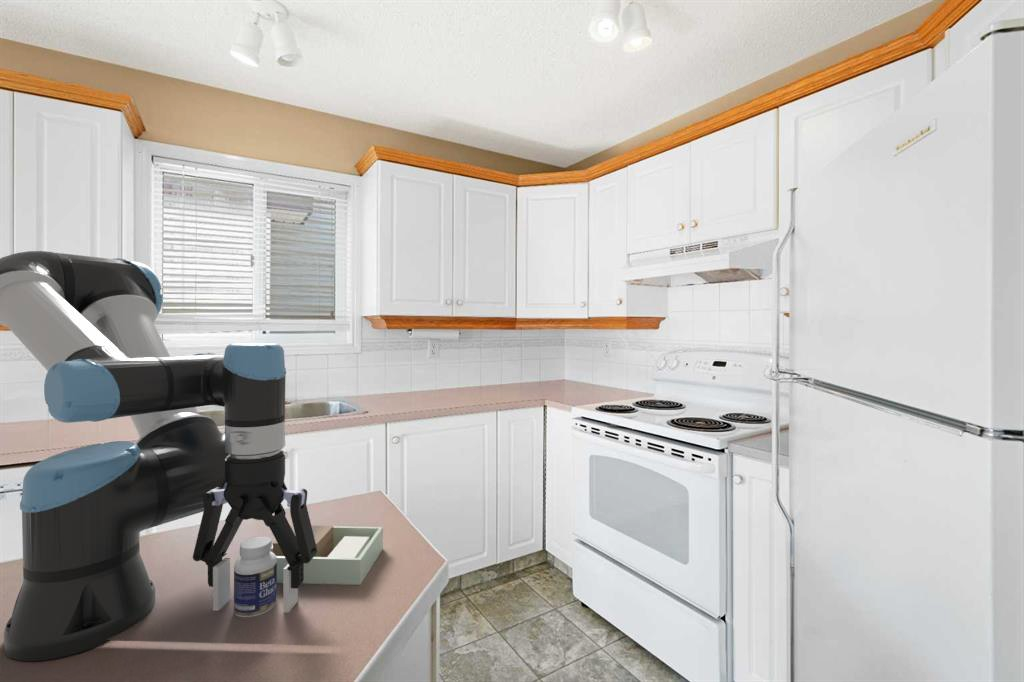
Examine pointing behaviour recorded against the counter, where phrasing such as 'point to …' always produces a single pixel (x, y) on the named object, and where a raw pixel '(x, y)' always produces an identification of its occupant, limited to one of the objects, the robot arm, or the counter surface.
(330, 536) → the walnut block
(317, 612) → the counter surface
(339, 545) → the white box
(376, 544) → the box
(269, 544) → the pill bottle
